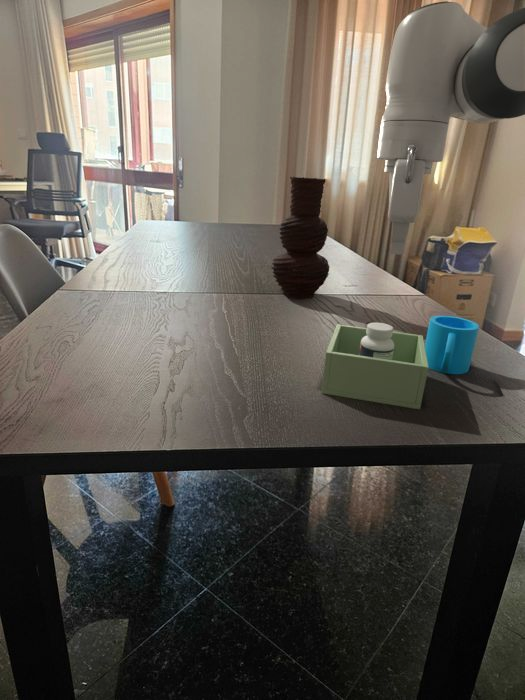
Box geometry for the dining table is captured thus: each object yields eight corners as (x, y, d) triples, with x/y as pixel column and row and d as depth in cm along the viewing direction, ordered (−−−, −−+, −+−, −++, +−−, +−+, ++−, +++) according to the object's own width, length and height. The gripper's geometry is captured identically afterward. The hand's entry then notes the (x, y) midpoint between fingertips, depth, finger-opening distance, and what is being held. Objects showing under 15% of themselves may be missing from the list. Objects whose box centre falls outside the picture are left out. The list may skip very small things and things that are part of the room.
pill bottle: (352, 370, 79) (358, 320, 75) (381, 371, 79) (389, 321, 76) (361, 384, 74) (369, 331, 71) (393, 384, 74) (402, 331, 71)
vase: (275, 285, 136) (282, 175, 125) (328, 291, 133) (340, 179, 122) (264, 298, 122) (272, 176, 111) (323, 305, 119) (337, 180, 108)
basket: (415, 371, 82) (422, 335, 79) (420, 409, 69) (428, 367, 66) (332, 359, 85) (336, 324, 83) (321, 393, 72) (326, 352, 69)
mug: (423, 353, 91) (431, 313, 88) (468, 361, 88) (478, 320, 85) (417, 375, 80) (426, 330, 77) (468, 386, 77) (479, 340, 74)
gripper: (442, 143, 54) (422, 262, 59) (429, 151, 73) (415, 241, 78) (386, 141, 56) (371, 258, 61) (388, 149, 74) (376, 238, 79)
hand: (396, 248), depth 69 cm, fingers open, 8 cm apart
